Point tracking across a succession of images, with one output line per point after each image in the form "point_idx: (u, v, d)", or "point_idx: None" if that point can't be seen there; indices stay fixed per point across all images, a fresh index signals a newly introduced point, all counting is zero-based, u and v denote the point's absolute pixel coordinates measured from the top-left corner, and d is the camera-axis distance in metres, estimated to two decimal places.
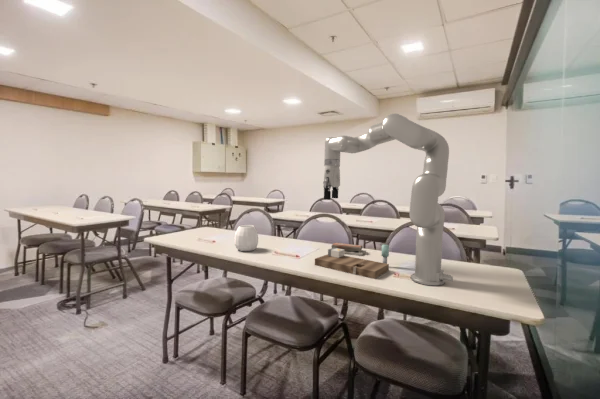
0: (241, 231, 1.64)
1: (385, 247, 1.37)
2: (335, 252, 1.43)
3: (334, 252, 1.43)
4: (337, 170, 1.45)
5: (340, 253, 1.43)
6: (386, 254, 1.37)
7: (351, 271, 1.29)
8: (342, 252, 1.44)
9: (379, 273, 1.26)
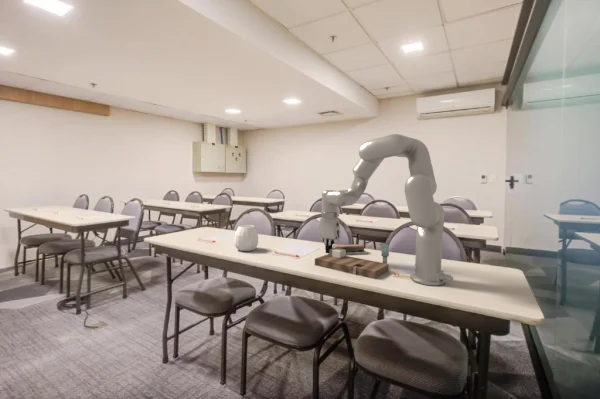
0: (241, 231, 1.64)
1: (385, 247, 1.37)
2: (336, 252, 1.42)
3: (335, 252, 1.43)
4: None
5: (341, 253, 1.43)
6: (386, 254, 1.37)
7: (351, 271, 1.29)
8: (343, 252, 1.44)
9: (379, 273, 1.26)
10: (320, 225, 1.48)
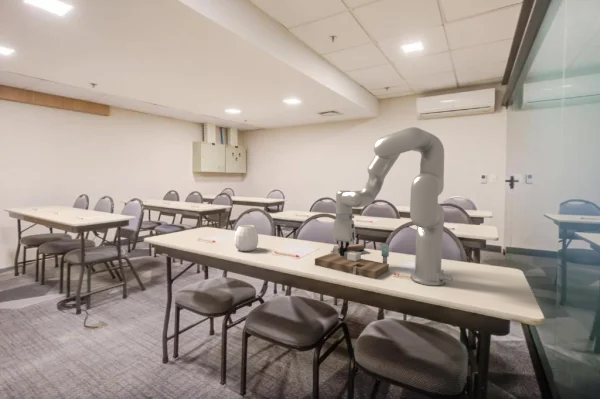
0: (241, 231, 1.64)
1: (385, 247, 1.37)
2: (352, 255, 1.37)
3: (351, 255, 1.38)
4: None
5: (357, 256, 1.37)
6: (386, 254, 1.37)
7: (351, 271, 1.29)
8: (359, 255, 1.39)
9: (379, 273, 1.26)
10: (334, 227, 1.43)
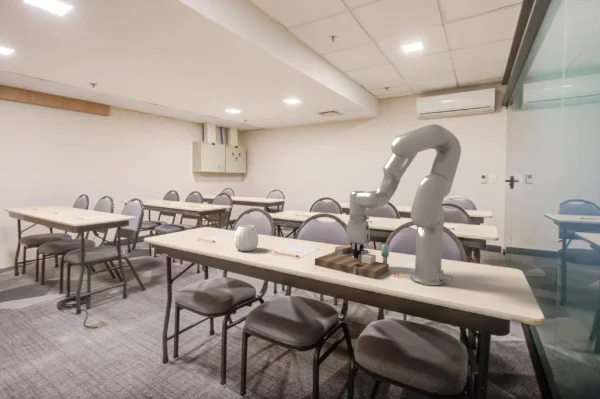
0: (241, 231, 1.64)
1: (385, 247, 1.37)
2: (367, 258, 1.33)
3: (365, 258, 1.33)
4: None
5: (372, 259, 1.33)
6: (386, 254, 1.37)
7: (351, 271, 1.29)
8: (374, 258, 1.34)
9: (379, 273, 1.26)
10: (348, 228, 1.38)
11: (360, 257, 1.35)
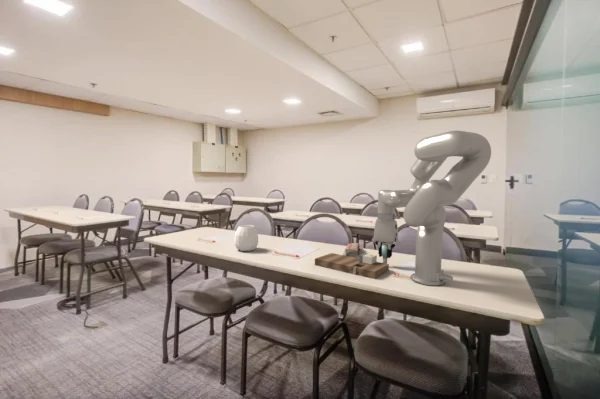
0: (241, 231, 1.64)
1: (385, 247, 1.37)
2: (368, 258, 1.32)
3: (366, 258, 1.33)
4: None
5: (373, 259, 1.32)
6: (386, 254, 1.37)
7: (351, 271, 1.29)
8: (375, 258, 1.34)
9: (379, 273, 1.26)
10: (376, 227, 1.39)
11: (361, 257, 1.34)
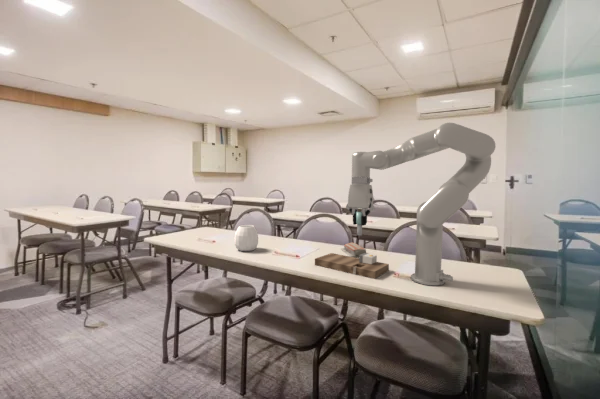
0: (241, 231, 1.64)
1: (359, 214, 1.27)
2: (368, 258, 1.32)
3: (366, 258, 1.33)
4: None
5: (373, 259, 1.32)
6: (360, 221, 1.27)
7: (351, 271, 1.29)
8: (375, 258, 1.34)
9: (379, 273, 1.26)
10: (350, 193, 1.29)
11: (361, 257, 1.34)
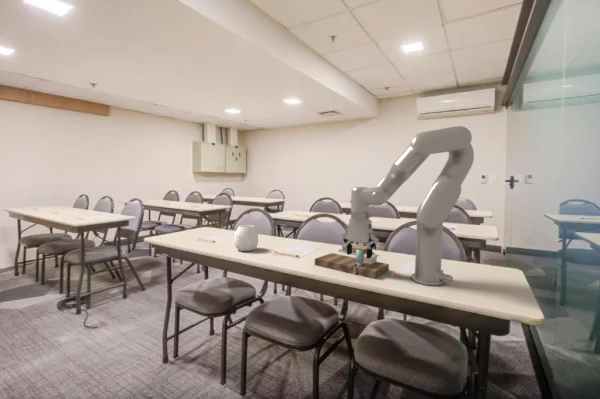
0: (241, 231, 1.64)
1: (360, 252, 1.28)
2: None
3: (366, 258, 1.33)
4: None
5: (373, 259, 1.32)
6: (360, 259, 1.28)
7: (351, 271, 1.29)
8: (375, 258, 1.34)
9: (379, 273, 1.26)
10: (349, 227, 1.30)
11: None
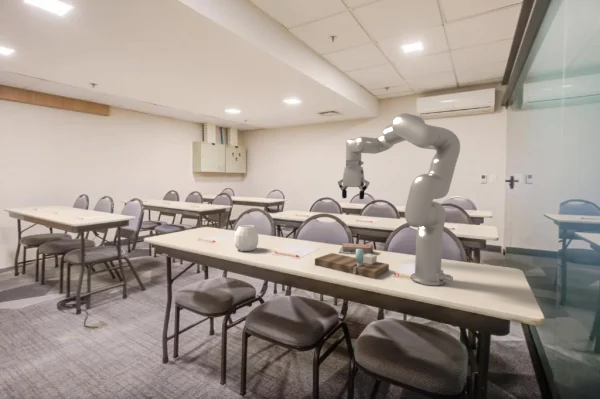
0: (241, 231, 1.64)
1: (359, 252, 1.28)
2: (368, 258, 1.32)
3: (366, 258, 1.33)
4: None
5: (373, 259, 1.32)
6: (360, 259, 1.28)
7: (351, 271, 1.29)
8: (375, 258, 1.34)
9: (379, 273, 1.26)
10: (344, 174, 1.51)
11: None
